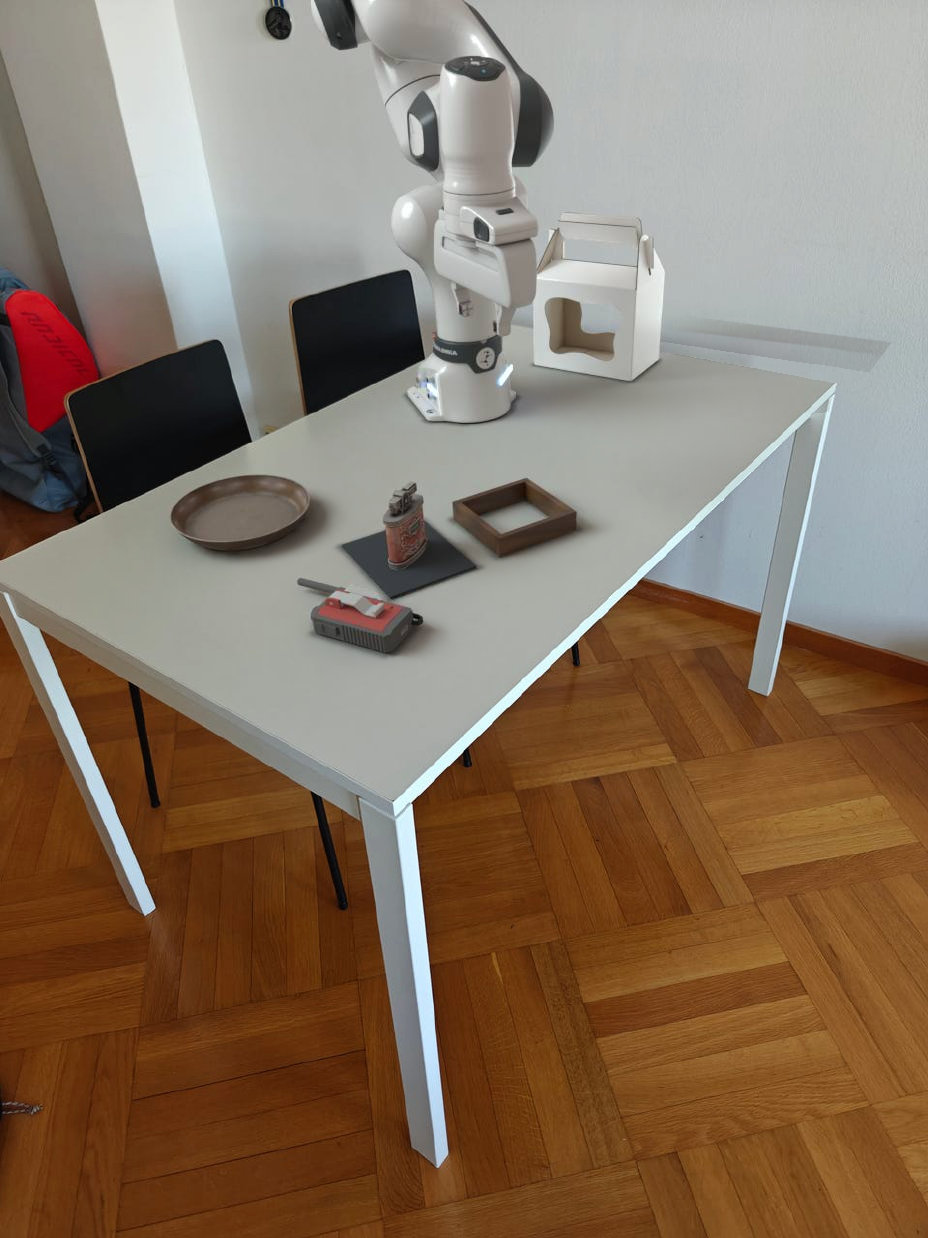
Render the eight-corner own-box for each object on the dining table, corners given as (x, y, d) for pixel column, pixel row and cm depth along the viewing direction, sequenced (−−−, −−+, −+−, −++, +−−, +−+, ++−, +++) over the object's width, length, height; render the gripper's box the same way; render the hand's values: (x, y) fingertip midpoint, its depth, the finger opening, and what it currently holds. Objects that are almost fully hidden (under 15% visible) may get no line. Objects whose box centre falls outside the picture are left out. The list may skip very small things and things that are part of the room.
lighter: (404, 571, 120) (397, 506, 114) (383, 566, 121) (374, 501, 115) (432, 543, 125) (427, 479, 120) (412, 538, 127) (405, 475, 121)
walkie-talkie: (433, 619, 111) (304, 585, 119) (430, 589, 109) (298, 557, 117) (397, 659, 105) (263, 620, 113) (393, 629, 102) (257, 591, 110)
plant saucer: (335, 499, 139) (332, 480, 137) (271, 568, 123) (266, 547, 121) (222, 485, 145) (217, 467, 143) (146, 550, 129) (140, 530, 127)
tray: (453, 519, 131) (452, 501, 130) (526, 495, 136) (526, 477, 135) (499, 557, 122) (498, 538, 120) (576, 529, 127) (577, 511, 125)
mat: (341, 547, 127) (341, 544, 127) (421, 520, 132) (421, 518, 131) (390, 599, 115) (390, 596, 115) (476, 568, 120) (476, 565, 120)
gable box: (532, 365, 182) (530, 218, 165) (563, 345, 190) (564, 203, 174) (632, 382, 171) (640, 227, 155) (660, 360, 180) (671, 211, 163)
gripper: (418, 202, 116) (426, 309, 124) (500, 233, 101) (503, 351, 109) (460, 195, 118) (465, 300, 126) (546, 224, 103) (545, 340, 112)
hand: (483, 324), depth 118 cm, fingers open, 8 cm apart
